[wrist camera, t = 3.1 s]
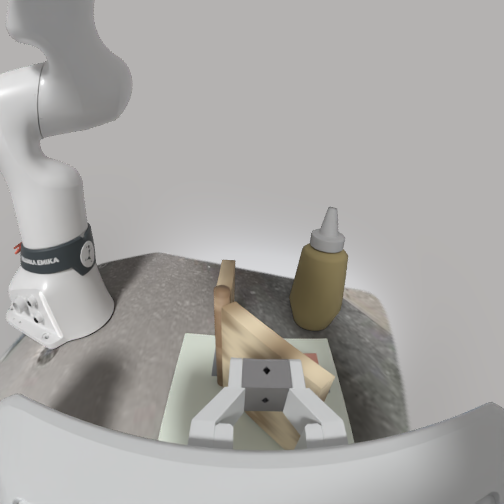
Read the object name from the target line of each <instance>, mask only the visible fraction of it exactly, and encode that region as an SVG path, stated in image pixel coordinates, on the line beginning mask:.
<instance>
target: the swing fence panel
mask: <svg viewBox="0 0 504 504" xmlns="http://www.w3.org/2000/svg"><path fill="white" fill-rule="evenodd" d="M214 318H215V345H216V366H217V383H218V385H219V386H222V387H223V388H224V387H228V380H229V368H230V359H231V357H233V358H250V359H288V360H289V359H300V360H301V363H302V368H303V374H304V380H305V386H306V388H310V389H311V390H312V391H313V392H314V393H315V394H316V395H317V396H318V397H319V398H320V399H321V400H322V401H323V402H324V401H325V399H326V397H327V394H328V392H329V390H330V388H331V385H332V383H333V381H334V378H335V376H334V375H332V374H331V373H329V372H328V371H327V370H325V369H324V368H322V367H321V366H320V365H318V364H317V363H315V362H314V361H313V360H311V359H310V358H309V357H307V356H306V355H305V354H303V353H302V352H300V351H299V350H298V349H296V348H295V347H294V346H292V345H291V344H290V343H288V342H287V341H286V340H284V339H283V338H282V337H280V336H279V335H278V334H276V333H275V332H274V331H273V330H271V329H270V328H269V327H267V326H266V325H265V324H263V323H262V322H261V321H260V320H258V319H257V318H256V317H254V316H253V315H252V314H251V313H249V312H248V311H247V310H246V309H244V308H243V307H242V306H241V305H239V304H238V303H237V302H236V301H235V302H233V303H230V288H229V287H228V286H225V285H218V286H216V287H215V288H214ZM242 365H243V363H242ZM244 412H245V413H246V414H247V415H248V416H249V417H250V418H251V419H252V420H253V421H254V422H256V423H257V424H258V425H259V426H260V427H261V428H262V429H263V430H264V431H265V432H266V433H267V434H268V435H269V436H270V437H271V438H272V439H274V440H275V441H276V442H277V443H278V444H279V445H280V446H281V447H282V448H284V449H285V450H294V449H295V447H296V445H297V442H298V440H299V438H300V436H301V435H300V434H299V433H298V432H297V430H296V429H295V428H294V426H293V425H292V424H291V423H290V421H289V420H288V419H287V417H286V416H285V415H284V413H283V412H279V411H244Z"/></svg>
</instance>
